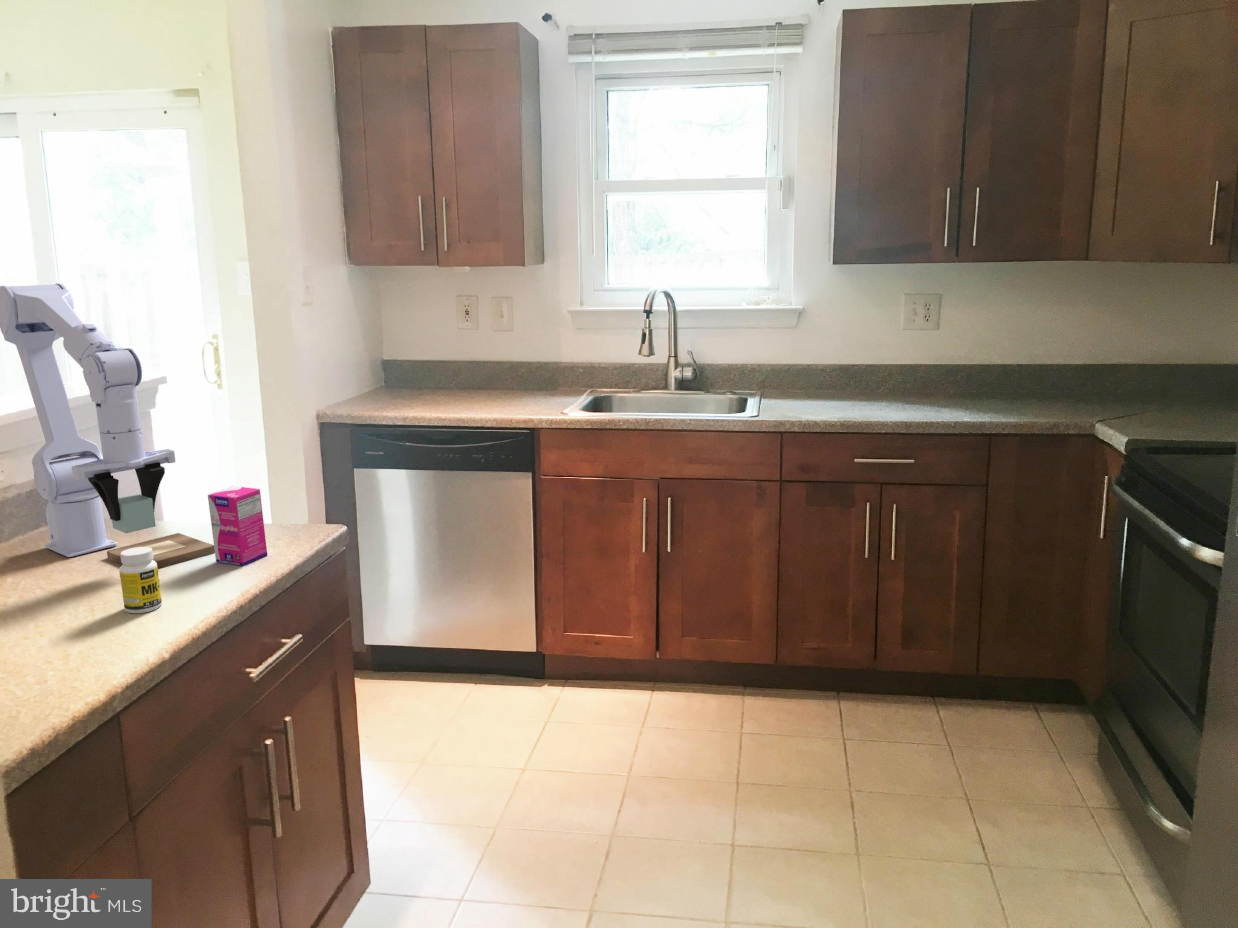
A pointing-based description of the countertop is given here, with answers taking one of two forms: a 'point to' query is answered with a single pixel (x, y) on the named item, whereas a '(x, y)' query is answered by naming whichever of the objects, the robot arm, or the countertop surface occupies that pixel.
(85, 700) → the countertop surface
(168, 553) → the plate
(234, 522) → the supplement box
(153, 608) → the supplement bottle
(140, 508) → the teal cube
